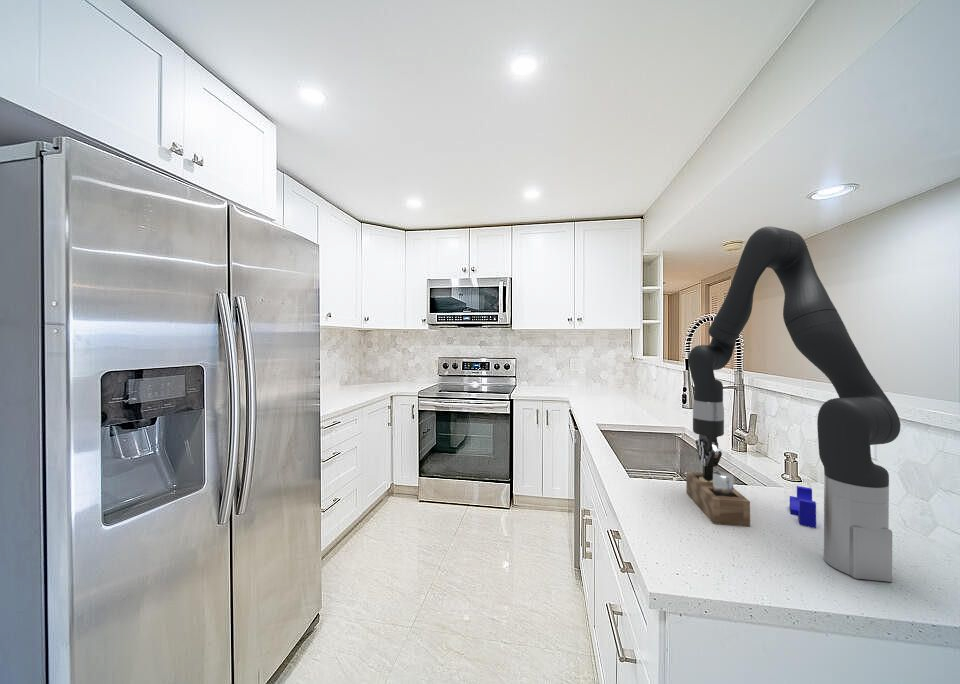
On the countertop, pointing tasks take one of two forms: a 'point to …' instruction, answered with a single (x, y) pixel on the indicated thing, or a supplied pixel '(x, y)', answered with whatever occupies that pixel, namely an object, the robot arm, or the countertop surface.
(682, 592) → the countertop surface
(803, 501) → the blue block piece
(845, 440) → the robot arm
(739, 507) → the wooden peg holder
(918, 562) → the countertop surface
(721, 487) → the steel peg
